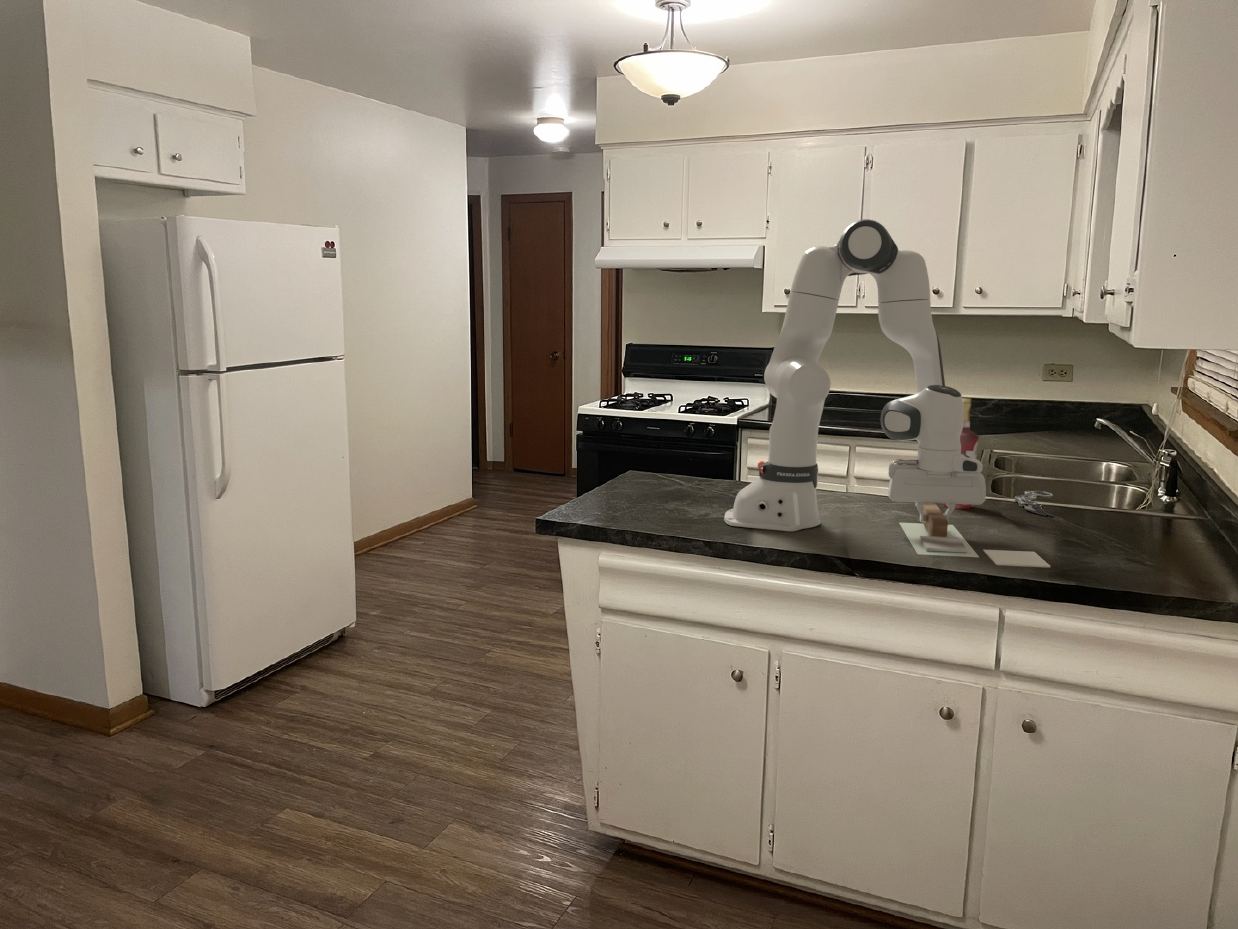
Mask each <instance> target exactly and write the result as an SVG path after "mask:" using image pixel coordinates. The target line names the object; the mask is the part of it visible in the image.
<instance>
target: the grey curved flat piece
mask: <svg viewBox="0 0 1238 929" xmlns="http://www.w3.org/2000/svg"><path fill="white" fill-rule="evenodd" d="M1052 497H1054V495H1053V493H1051V492H1049V491H1048V492H1047V491H1042V490H1026V491H1024V492H1023V493H1019V494H1016V496H1014V501H1015V502H1016V501H1018V502H1017V503H1018V504H1019V505H1018V507H1021V508H1024V510H1026V511H1029V512H1032V513H1035V514H1038V515H1043V516H1046V515H1048V514H1049V513H1048V512H1046V511H1045V512H1046V513H1045V512H1043V511H1044V510H1043V509H1042V506H1043V505H1042V504H1041V505H1040V506H1039V507H1038V506H1037V504H1038V502H1036V501H1037V499H1052ZM1035 505H1036V506H1035ZM1023 506H1024V507H1023ZM1038 509H1042V510H1043V511H1040V510H1038ZM1047 513H1048V514H1047Z"/></svg>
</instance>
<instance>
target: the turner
mask: <svg viewBox="0 0 1238 929" xmlns="http://www.w3.org/2000/svg"><path fill="white" fill-rule="evenodd" d="M921 509H922V511H923V513H927V514H928V518H927V519H928V522H921V524H923V525H924V526H925V528H926V530H927V531H928V533H929V535H930V536H920V540H921V541H922V543H923V545H924V547H925V549H926V551H945V552H967V549H966V547H965V546H964V544H963V543H962V541H961V540H960V538H959V537H947V528H948V525H949V522H948V521H947V519H946V518H945V516H944V515H943V514H944V513H943V512H942V510H941V509H940V507H938V505H937V503H926V502H924V507H921Z"/></svg>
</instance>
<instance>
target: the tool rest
mask: <svg viewBox="0 0 1238 929" xmlns="http://www.w3.org/2000/svg"><path fill="white" fill-rule="evenodd" d="M898 524H899V525H900V527H901V528H902V530H903V532H904V533H905V535H906V538H907V539H908V541H909V542H910V544H911V546H912V547H913V549H914V550H915V552H916V554H917V555H920V556H921V555H926V556H941V557H942V556H943V557H945V556H946V557H966V558H980V556H979V555H978V554H977V552H976V551H975V550H974V549H973V547H972V546H971V545H970V544H969V543H968V541H967V540H966V539H965V538H964V537H963V535H962V534H961V533H960V532H959V531H958V529H957V528H956V527H955V526H954V525H953V524H948V528H947V537H959V538H960V540H961V541H962V543H963V544H964V546H965V547H966V549H967V552H945V551H926V549H925V547H924V545H923V543H922V541H921V540H920V536H930V535H929V533H928V531H927V530H926V528H925V526H924V525H923V523H921V522H920V523H917V522H916V523H914V522H899V523H898Z"/></svg>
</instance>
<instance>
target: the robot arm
mask: <svg viewBox="0 0 1238 929" xmlns="http://www.w3.org/2000/svg"><path fill="white" fill-rule="evenodd" d="M867 274H868V275H869V274H870V275H871V276H872V277H873V279H874V280H875V282H876V286H877V304H878V307H877V308H878V309H877V310H878V322H879V327H880V330H881V331H882V333H883V334H884V335H885V337H887V338H888V339H889V340H891V341H892V342H894V343H895V344H898V345H899V346H900V347H902V348H904V350H906V351H907V352H908V353H909V355H910V356H911V359H912V362H913V368H914V376H915V384H916V392H915V393H914V394H911V395H907V396H904V397H901V398H897V399H894V400H890V401H889V402H887V403H886V404H885V405H884V406H883V408H882V411H881V413H880V425H881V429H882V431H883V433H884V434H885V435H886V436H887V437H888V438H889V439H891V440H893V441H898V442H899V441H900V442H907V441H917V443H918V446H917V458H916V459H896V460H894V461H892V462H891V463H890V464H889V465H888V466H889V467H888V477H889V478H890V479H889V482H888V483H889V484H888V489H887V490H888V491H887V496H888V498H889V499H890V500H891V501H893V502H902V503H903V502H904V503H905V502H906V503H908V502H909V503H915V507H916V509H917V511H918V513H919V522H920V523H922V522H928V519H927V518H928V514H927V513H923V511H922V507H924V503H935V504H943V503H947V507H946V508H947V509H946V510H945V511H944V513H942V514H943V515H944V516H945V518H946V519H947V521H948V523H949V519H950V515H951V514H952V513H953V511H955V510H956V509H955V504H971V505H978V506H979V505H982V504H983V503H985V501H986V498H987V497H986V496H987V495H986V494H987V487H986V479H985V476H984V475H983V474H982V473H981V472H982V471H983V467H984V466H983V465H984V464H982V462H981V461H980V460H979V459H977V458H976V459H975V458H973V457H970V456H968V455H964V454H961V443H960V435H961V432H962V429H963V417H964V407H963V399H962V398H963V396H962V394H961V392H960V391H959V390H957V389H955V388H953V387H950V386H946V383H945V382H946V380H945V372H944V367H943V358H942V349H941V344H940V339H939V335H938V333H937V330H936V329H935V326H934V322H933V315H932V309H931V308H932V306H931V288H930V278H929V272H928V268H927V264H926V260H925V258H924V257H923V255H921V254H920V253H918V252H916V251H912V250H899V248H898V245H897V244H896V243H895V240H893V237H892V236H891V234H890V233H889V231H888V230H887V229H886V227H885V226H884V225H883V224H881V223H880V222H879V221H876V220H873V219H869V218H868V219H859V220H856V221H854V222H852V223H851V224H849V225H848V226H847V227H846V228H845V229H844V231H842V234H841V236H840V238H839V241H838V242H837V243H836V244H835V245H833V246H824V245H819V246H813V247H810V248H808V249H806V251H804V252H803V254H802V256H801V259H800V261H799V263H798V266H797V269H796V271H795V274H794V277H793V281H792V284H791V287H790V292H789V295H788V296H789V297H788V301H787V305H786V310H785V315H784V319H783V324H782V326H781V330H780V333H779V335H778V338H777V340H776V342H775V345H774V348H773V351H772V353H771V357H770V360H769V362H768V364H767V366H766V367H765V370H764V374H763V379H764V384H765V387H766V388H767V390H768V391H769V394H771V395H772V396H773V397H774V398H776V404H775V410H774V415H773V420H772V423H771V425H770V427H769V433H768V434H769V436H768V438H769V439H768V459H767V461H764V460H759V462H757V468H758V475H759V476H758V478H757V479H755V480H754V481H751V483H749V484H748V485H746V486H745V487H743V488H742V489H740V490H739V491H738V493H737V494H736V497H735V500H734V502H733V503H734V504H733V508H731V509H728V510H727V511H725V513H724V517H723V521H724V522H725V523H726V524H727V525H729V526H731V527H732V526H733V527H739V528H740V527H743V528H752V529H762V530H772V531H781V532H782V531H783V532H797V531H800V530H803V529H810V528H814V527H817V526H819V525H820V524H821V519H820V515H819V510H818V502H817V501H818V499H817V487H818V483H819V482H818V481H819V465H818V463H817V457H818V456H817V453H818V452H817V451H818V435H819V428H820V422H821V419H822V415H823V411H824V406H825V401H826V398H828V395H829V394H830V393H829V392H830V390H831V378H830V375H829V374H828V372H827V370H826V369H825V367H824V366H822V365H821V364H820V363H819V359H820V356H821V355H822V352H823V351H824V350H823V349H824V347H825V345H826V343H827V342H828V340H829V339H830V338H831V337H832V336H831V335H832V333H833V328H834V324H835V320H836V315H837V310H838V306H839V303H840V302H839V301H840V298H841V293H842V288H843V286H844V283H845V281H846V278H847V277H852V276H861V275H867Z"/></svg>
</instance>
